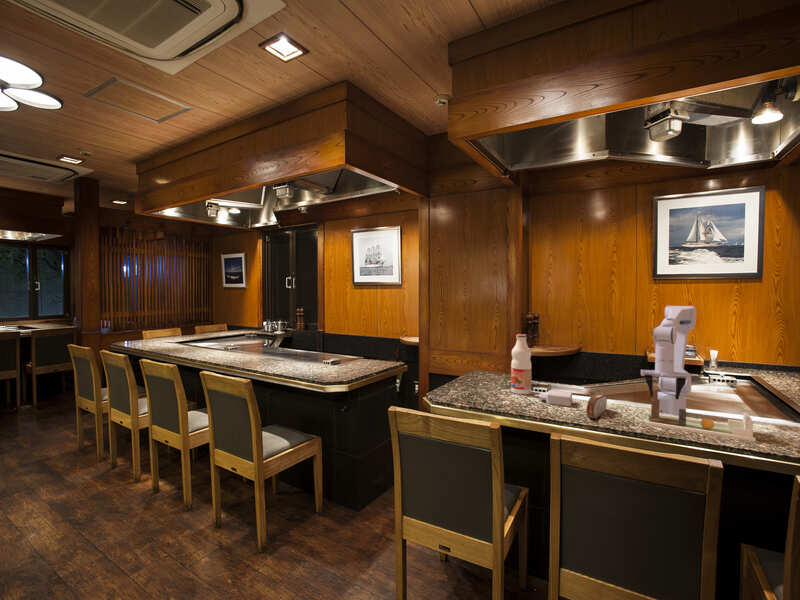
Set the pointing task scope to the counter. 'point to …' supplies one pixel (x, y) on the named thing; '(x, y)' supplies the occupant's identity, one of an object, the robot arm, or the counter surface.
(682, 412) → the striker
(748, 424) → the pitch
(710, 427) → the ball
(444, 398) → the counter surface
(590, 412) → the tin
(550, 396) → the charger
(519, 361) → the fruit juice
